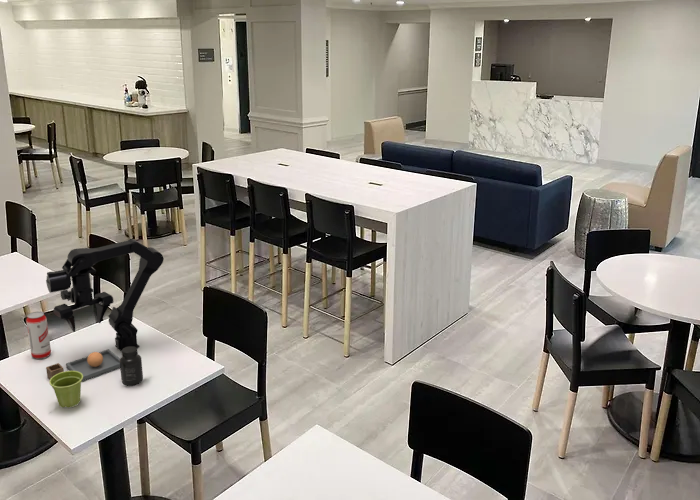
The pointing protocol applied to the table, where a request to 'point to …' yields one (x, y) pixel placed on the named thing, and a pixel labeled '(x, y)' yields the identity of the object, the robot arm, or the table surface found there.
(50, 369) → the brown wooden open cube
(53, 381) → the plant pot
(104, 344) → the table surface
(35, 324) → the beer can
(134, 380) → the supplement bottle
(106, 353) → the tray
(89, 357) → the ball
